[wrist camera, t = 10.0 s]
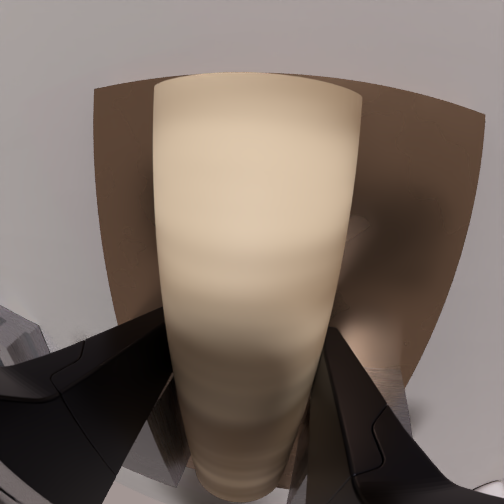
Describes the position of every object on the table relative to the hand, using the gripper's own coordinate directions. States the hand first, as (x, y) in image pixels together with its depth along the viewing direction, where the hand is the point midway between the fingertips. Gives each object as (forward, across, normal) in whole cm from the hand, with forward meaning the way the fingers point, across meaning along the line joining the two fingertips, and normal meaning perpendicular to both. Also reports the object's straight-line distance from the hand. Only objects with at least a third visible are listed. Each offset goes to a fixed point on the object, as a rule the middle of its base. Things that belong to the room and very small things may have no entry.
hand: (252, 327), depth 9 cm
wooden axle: (+1, 0, +1) cm, 1 cm away
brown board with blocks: (+2, 0, +5) cm, 5 cm away
